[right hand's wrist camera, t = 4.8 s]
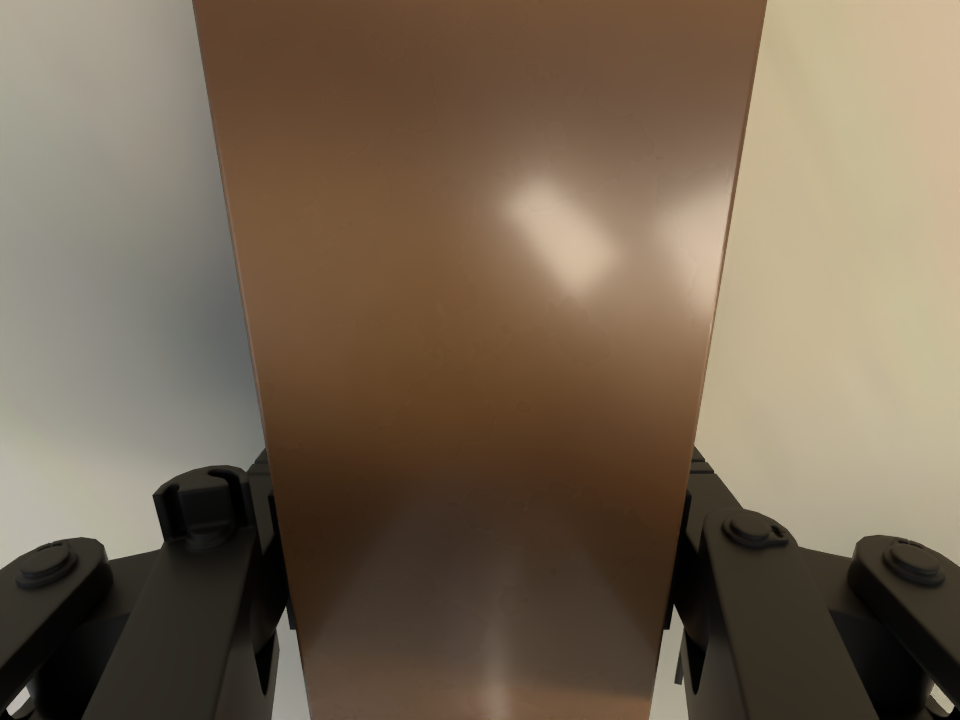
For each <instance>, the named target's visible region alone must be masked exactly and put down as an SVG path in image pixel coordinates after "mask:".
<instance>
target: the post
mask: <svg viewBox="0 0 960 720" xmlns="http://www.w3.org/2000/svg"><path fill="white" fill-rule="evenodd" d="M192 3H193V9H194V15H195V21H196V27H197V33H198V39H199V45H200V51H201V57H202V63H203V70H204V76H205V82H206V88H207V94H208V100H209V106H210V112H211V118H212V124H213V130H214V136H215V142H216V148H217V154H218V160H219V166H220V173H221V179H222V185H223V191H224V197H225V203H226V209H227V215H228V221H229V227H230V233H231V239H232V245H233V251H234V257H235V263H236V270H237V276H238V282H239V288H240V294H241V300H242V306H243V312H244V318H245V324H246V330H247V336H248V342H249V348H250V354H251V360H252V366H253V373H254V379H255V385H256V391H257V397H258V403H259V409H260V415H261V421H262V427H263V433H264V439H265V445H266V451H267V457H268V463H269V469H270V476H271V482H272V488H273V494H274V500H275V506H276V512H277V518H278V524H279V530H280V536H281V542H282V548H283V554H284V560H285V566H286V573H287V579H288V585H289V591H290V597H291V603H292V609H293V615H294V621H295V627H296V633H297V639H298V645H299V651H300V657H301V663H302V669H303V676H304V682H305V688H306V694H307V700H308V706H309V712H310V718H311V720H649V715H650V709H651V703H652V697H653V691H654V684H655V678H656V672H657V666H658V660H659V654H660V648H661V642H662V636H663V630H664V624H665V618H666V612H667V605H668V599H669V593H670V587H671V581H672V575H673V569H674V563H675V557H676V551H677V545H678V539H679V533H680V526H681V520H682V514H683V508H684V502H685V496H686V490H687V484H688V478H689V472H690V466H691V460H692V454H693V448H694V441H695V435H696V429H697V423H698V417H699V411H700V405H701V399H702V393H703V387H704V381H705V375H706V369H707V362H708V356H709V350H710V344H711V338H712V332H713V326H714V320H715V314H716V308H717V302H718V296H719V290H720V284H721V277H722V271H723V265H724V259H725V253H726V247H727V241H728V235H729V229H730V223H731V217H732V211H733V205H734V198H735V192H736V186H737V180H738V174H739V168H740V162H741V156H742V150H743V144H744V138H745V132H746V126H747V120H748V113H749V107H750V101H751V95H752V89H753V83H754V77H755V71H756V65H757V59H758V53H759V47H760V41H761V34H762V28H763V22H764V16H765V10H766V4H767V0H192Z"/></svg>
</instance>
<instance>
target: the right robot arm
mask: <svg viewBox="0 0 960 720" xmlns="http://www.w3.org/2000/svg"><path fill="white" fill-rule="evenodd" d="M152 496H153V500H154V503H155V507H156V511H157V515H158V519H159V522H160V526H161V530H162V534H163V538H164V543H163V545H162V547H161V549H159V550H155V551H151V552H147V553H142V554H138V555H133V556H128V557H123V558H118V559H114V560H109V561H108V557H107V554H106V551H105V548H104V545H103V544H101V543H100V542H99V541H97V540H96V539H91V538H84V537H79V538H71V539H64V540H59V541H55V542H53V543H48V544H45V545H42V546H40V547H38V548H36V549H34V550H32V551H30V552H28V553H26V554H24V555H22V556H20V557H18V558H17V559H15V560H14V561H12V562H11V563H9V564H8V565H7V566H5V567H4V568H2V569H1V570H0V720H271V718H272V709H273V701H274V693H275V684H276V676H277V668H278V659H279V651H280V649H279V642H278V636H277V630H276V627H277V625H278V622H279V620H280V618H281V616H282V613H283V611H284V609H285V607H286V608H287V614H288V619H289V625H290V630H296V627H295V621H294V615H293V609H292V603H291V597H290V591H289V585H288V579H287V573H286V566H285V560H284V554H283V548H282V542H281V536H280V530H279V524H278V518H277V512H276V506H275V500H274V494H273V488H272V482H271V476H270V469H269V463H268V457H267V451H266V448H265V449H264V450H263V451H262V453H261V454H260V455H259V457H258V458H257V459H256V460H255V464H252V466H251V467H250V468H249V470H248V471H247V472H245V471H244V470H242V469H241V468H238V467H233V466H229V465H220V466H208V467H203V468H198V469H194V470H191V471H188V472H186V473H183V474H181V475H178V476H176V477H174V478H173V479H171V480H169V481H168V482H166V483H164V484H163V485H161V486H160V488H159V489H158V490H157V491H156V492H155V493H154V494H153V495H152ZM674 605H675V607H676V609H677V612H678V614H679V616H680V618H681V620H682V623H683V625H684V630H683V636H682V641H681V647H680V652H679V658H678V663H677V669H676V675H675V682H674V683H675V684H680V685H681V684H682V679H683V675H684V683H685V691H686V700H687V708H688V716H689V720H960V567H959V566H958V565H956V564H955V563H953V562H952V561H950V560H949V559H947V558H946V557H944V556H943V555H942V554H940V553H938V552H936V551H934V550H931V549H929V548H927V547H925V546H924V545H922V544H920V543H917V542H914V541H911V540H910V541H909V540H907V539H903V538H899V537H892V536H884V535H874V536H867V537H864V538H862V539H861V540H860V541H859V542H857V543H856V546H855V550H854V553H853V556H852V558H848V557H843V556H838V555H833V554H829V553H824V552H819V551H814V550H810V549H806V548H802V547H799V546H798V544H797V542H796V540H795V539H794V538H793V536H792V535H791V534H790V532H789V531H788V530H787V529H786V528H785V527H783V526H782V525H780V524H779V523H778V522H776V521H775V520H773V519H771V518H769V517H767V516H765V515H762V514H760V513H758V512H754V511H750V510H746V509H743V508H742V506H741V505H740V504H739V502H738V501H737V500H736V499H735V497H734V496H733V495H732V493H731V492H730V491H729V490H728V488H727V487H726V486H725V484H724V483H723V482H722V481H721V479H720V478H719V477H718V475H717V474H714V470H713V469H712V468H711V466H710V465H709V464H708V463H707V462H705V459H704V457H703V456H702V455H701V454H700V452H699V451H698V450H697V448H696V447H695V446H694V448H693V454H692V460H691V466H690V472H689V478H688V484H687V490H686V496H685V502H684V508H683V514H682V520H681V526H680V533H679V539H678V545H677V551H676V557H675V563H674V569H673V575H672V581H671V587H670V593H669V599H668V605H667V612H666V618H665V624H664V630H669V629H670V623H671V617H672V612H673V606H674ZM934 684H936V685H937V686H938V687H939V688H940V689H941V690H942V692H943V693H944V694H945V695H946V696H947V697H948V698H949V700H950V701H951V702H952V703H953V704H954V705H955V706H954V708H953V711H952V712H951V713H950V714H949V713H947V712H946V711H945V710H944V709H943V708H942V707H941V706H940V705H939V704H938V703H937V702H936V701H935V699H934V698H933V697H932V696H931V695H930V693H931V691H932V688H933V686H934ZM25 686H26V687H27V689H28V692H29V694H30V697H29V699H28V700H27V701H26V702H25V703H24V705H23V706H22V707H21V708H20V709H19V710H18V711H16V712H15V713H14V714H13V715H12V716H10V715H9V714H8V712H7V710H6V708H7V707H8V706H9V704H10V703H11V702H12V701H13V700H14V699H15V697H16V696H17V695H18V694H19V693H20V692H21V691H22V689H23V688H24V687H25Z"/></svg>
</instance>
